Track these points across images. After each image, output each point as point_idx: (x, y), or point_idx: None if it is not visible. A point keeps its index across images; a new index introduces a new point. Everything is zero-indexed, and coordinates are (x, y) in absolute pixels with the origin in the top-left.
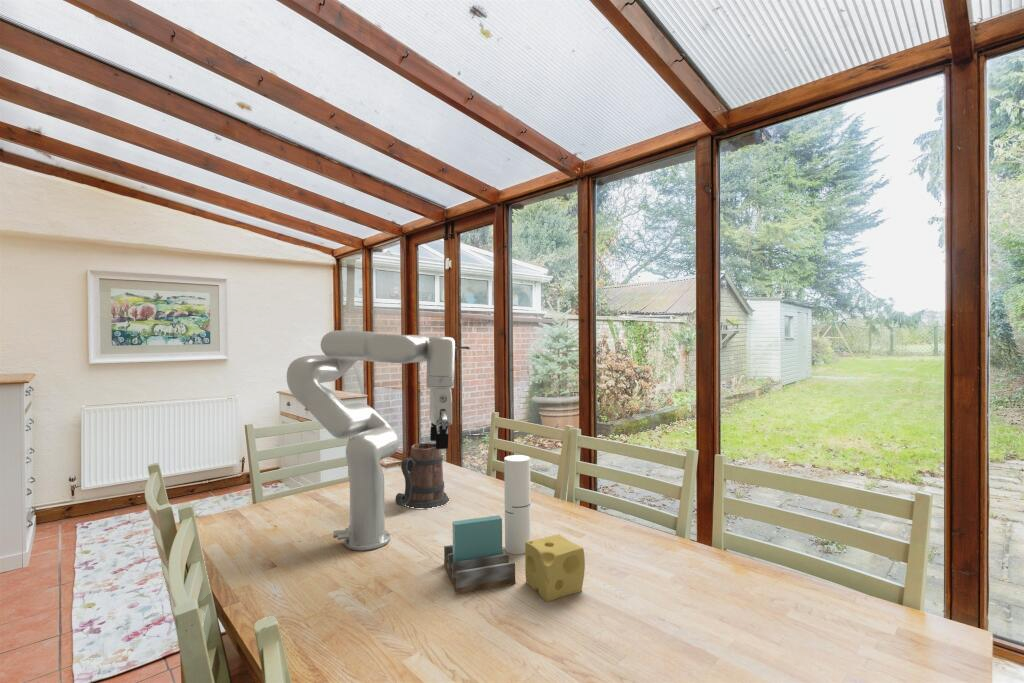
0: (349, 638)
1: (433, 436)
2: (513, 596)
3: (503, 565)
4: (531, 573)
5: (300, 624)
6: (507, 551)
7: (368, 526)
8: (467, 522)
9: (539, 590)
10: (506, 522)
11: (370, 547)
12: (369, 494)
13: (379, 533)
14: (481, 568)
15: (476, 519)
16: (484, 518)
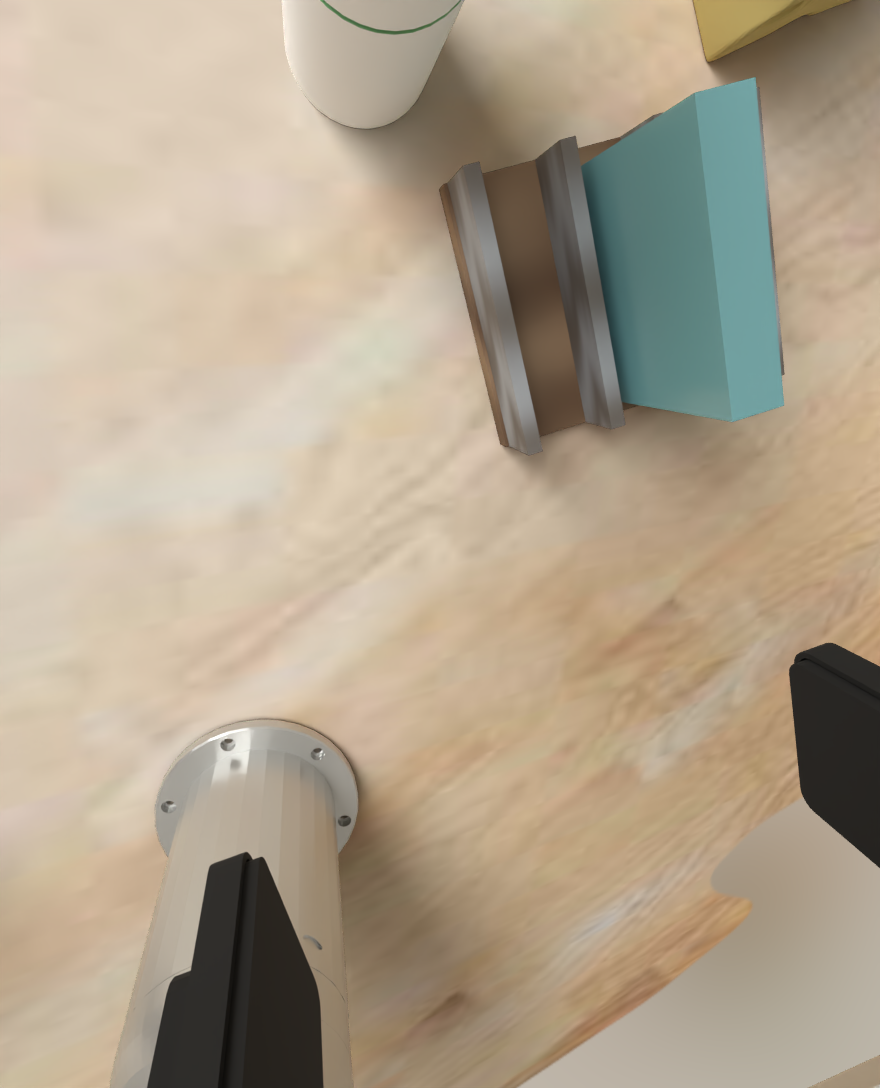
0: (875, 645)
1: (306, 1032)
2: (794, 141)
3: (763, 153)
4: (786, 15)
5: (788, 781)
6: (398, 117)
7: (334, 841)
8: (767, 328)
9: (822, 9)
10: (419, 58)
11: (351, 770)
12: (339, 977)
13: (297, 777)
14: (772, 265)
15: (735, 269)
16: (728, 211)
